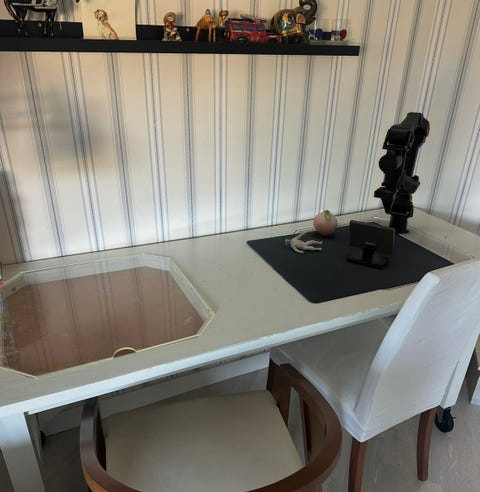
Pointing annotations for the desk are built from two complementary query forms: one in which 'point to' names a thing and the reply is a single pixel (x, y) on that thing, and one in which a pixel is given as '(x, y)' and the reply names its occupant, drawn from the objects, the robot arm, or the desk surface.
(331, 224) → the decorative fruit
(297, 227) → the desk surface
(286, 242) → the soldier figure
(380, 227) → the monitor screen
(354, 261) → the monitor stand
